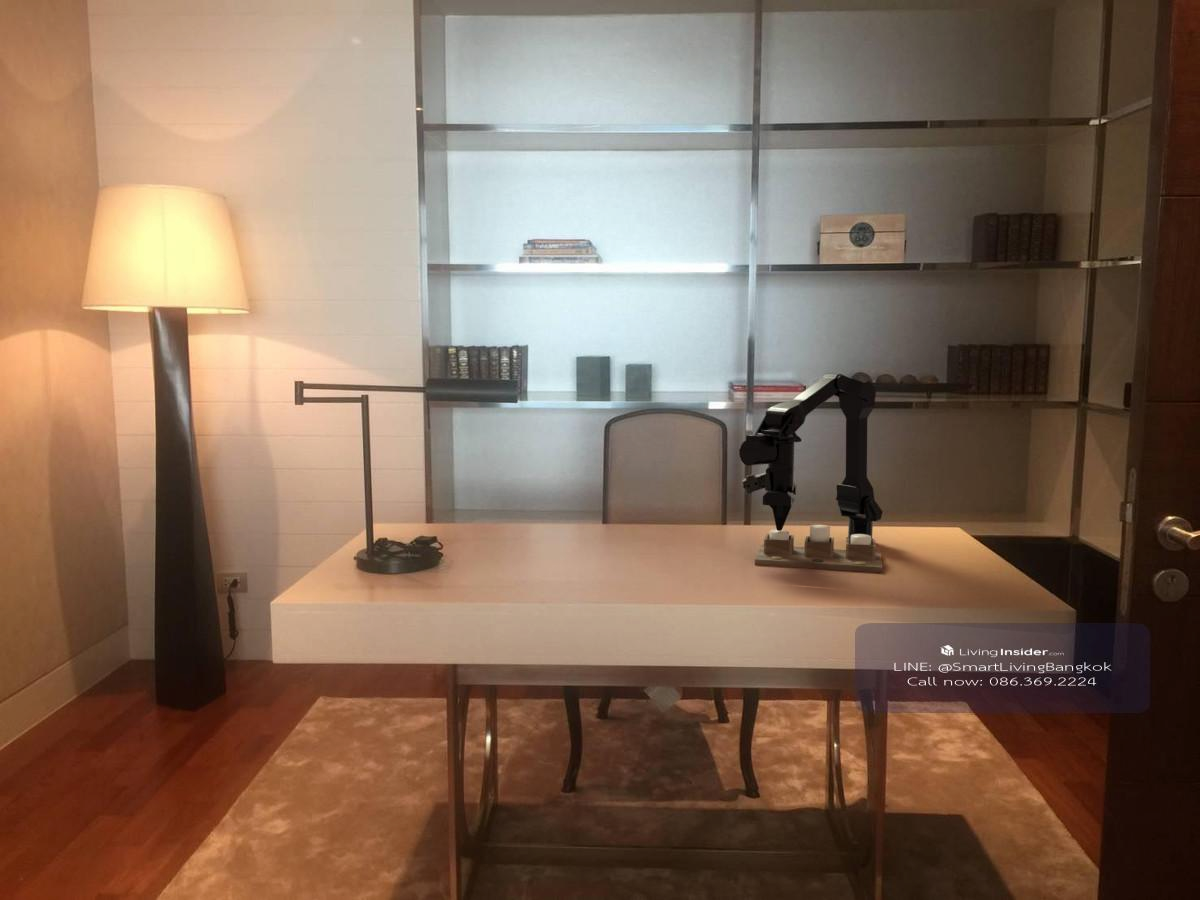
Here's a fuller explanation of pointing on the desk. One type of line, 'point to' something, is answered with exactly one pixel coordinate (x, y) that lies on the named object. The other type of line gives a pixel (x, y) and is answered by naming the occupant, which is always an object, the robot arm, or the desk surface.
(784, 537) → the button
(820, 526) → the button
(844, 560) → the board
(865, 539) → the button
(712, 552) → the desk surface
